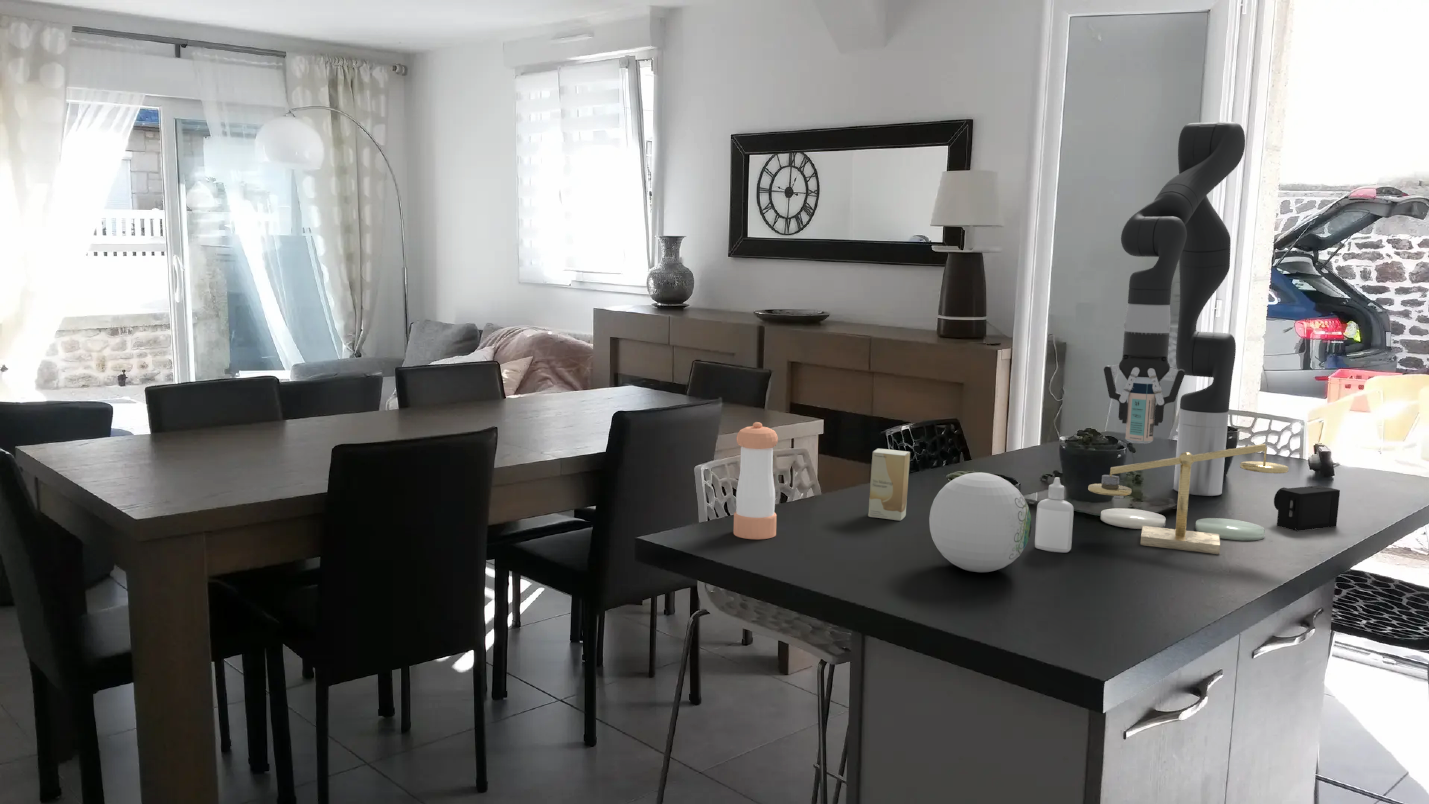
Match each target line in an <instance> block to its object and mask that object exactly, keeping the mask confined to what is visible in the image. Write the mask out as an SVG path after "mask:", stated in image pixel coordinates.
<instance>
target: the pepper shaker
mask: <svg viewBox="0 0 1429 804" xmlns="http://www.w3.org/2000/svg"><path fill="white" fill-rule="evenodd" d="M778 441H779V437H778V434H777V432H776V431H775V430H774V429H772V428H770V427H766V426H763V423H762V422H760V421H759V422H758V421H755V422H753V424H752V426H746V427H743V428H741V429H740V430H739V431H738V432H737V435H736V443H737V445H738V446H740V469H739V477H738V483H737V488H736V492H735V497H736V498H735V499H736V500H735V501H736V502H735V503H736V506H735V508H736V510H735V511H734V512H733V535H734V536H735V537H737V538H741V539H748V540H766V539H771V538H774V537H777V516H778V515H777V513H776V512H775V508H776V505H775V504H776V489H775V482H774V481H775V480H774V474H773V471H774V470H773V462H774V461H773V458H774V457H773V456H774V447H776V446H777V444H778Z"/></svg>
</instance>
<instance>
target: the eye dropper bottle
mask: <svg viewBox="0 0 1429 804" xmlns="http://www.w3.org/2000/svg"><path fill="white" fill-rule="evenodd" d="M1060 479H1061V478H1060V477H1054V480H1053V483H1051V484H1049V485H1048V495H1047V498H1045V499H1042V500H1040V501H1039V502H1038V503H1037V505H1036V516H1035V517H1036V518H1035V532H1034V533H1035V534H1034V535H1035V536H1034V547H1035V548H1036V549H1037V550H1041V551H1045V552H1052V553H1062V554H1063V553H1064V554H1067V553H1069V552H1070V551H1071V550H1072V542H1073V525H1074V506H1073V504H1072V503H1070V502H1069V501H1067V500H1064V499H1065V486H1064V485H1062V483H1061V480H1060Z"/></svg>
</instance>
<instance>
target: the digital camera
mask: <svg viewBox="0 0 1429 804" xmlns="http://www.w3.org/2000/svg"><path fill="white" fill-rule="evenodd" d="M1340 492H1341V490H1340V489H1337V488H1333V487H1328V486H1322V485H1309V486H1300V487H1284V486H1283V487H1281V488H1279V489H1278V490H1277V491H1276V493H1275V495H1274V498H1273V505H1274V507H1275V510H1277V517H1276V527H1279V528H1284V529H1287V530H1291V531H1295V532H1302V531H1310V530H1318V529H1327V528H1337V524H1338V523H1337V522H1338V515H1339V505H1340Z"/></svg>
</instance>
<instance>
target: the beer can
mask: <svg viewBox="0 0 1429 804" xmlns="http://www.w3.org/2000/svg"><path fill="white" fill-rule="evenodd" d="M1154 382H1155V381H1154ZM1129 385H1130V384H1129ZM1155 386H1156V385H1155ZM1152 387H1153V383H1152V381H1151V379H1150V378H1148V377H1137V378H1136V379H1135V380H1134V382H1133V387H1132V389H1131V391H1130V393H1129V396H1128V398H1127V402H1128V410H1127V423H1126V425H1125V427H1126V428H1125V437H1124V440H1126V441H1127V442H1128V443H1132V444H1137V445H1138V444H1139V445H1148V444H1149V445H1150V443H1152V442H1154V431H1155V428H1154V427H1155V426H1154V420H1155V406H1156V404H1157V401H1156V398H1155V394H1154V392H1153V388H1152Z"/></svg>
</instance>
